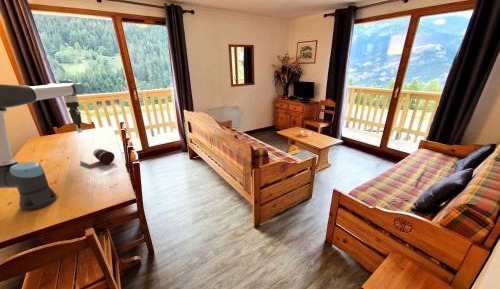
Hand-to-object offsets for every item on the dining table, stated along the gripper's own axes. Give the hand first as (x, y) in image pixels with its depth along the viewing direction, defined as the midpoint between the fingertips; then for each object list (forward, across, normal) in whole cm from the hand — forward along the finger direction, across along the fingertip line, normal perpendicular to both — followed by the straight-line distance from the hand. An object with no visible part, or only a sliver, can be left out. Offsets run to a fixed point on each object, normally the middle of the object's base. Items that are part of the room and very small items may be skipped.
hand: (80, 132), depth 162 cm
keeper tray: (+22, -14, 0) cm, 26 cm away
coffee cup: (+15, -14, -3) cm, 21 cm away
